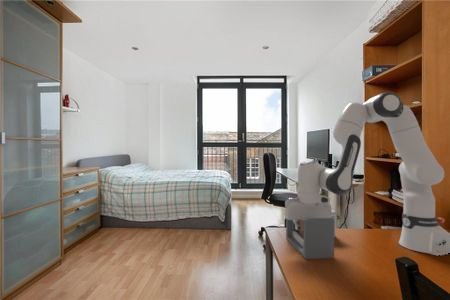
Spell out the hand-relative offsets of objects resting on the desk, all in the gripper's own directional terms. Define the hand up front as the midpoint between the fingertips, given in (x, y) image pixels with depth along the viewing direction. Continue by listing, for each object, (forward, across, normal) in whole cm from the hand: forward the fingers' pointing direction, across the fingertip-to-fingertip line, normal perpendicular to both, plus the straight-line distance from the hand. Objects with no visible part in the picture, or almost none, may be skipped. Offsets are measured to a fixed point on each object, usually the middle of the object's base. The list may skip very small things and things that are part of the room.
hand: (308, 229), depth 109 cm
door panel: (+7, 0, 0) cm, 7 cm away
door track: (+8, 0, 0) cm, 8 cm away
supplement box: (+8, +15, +14) cm, 22 cm away
